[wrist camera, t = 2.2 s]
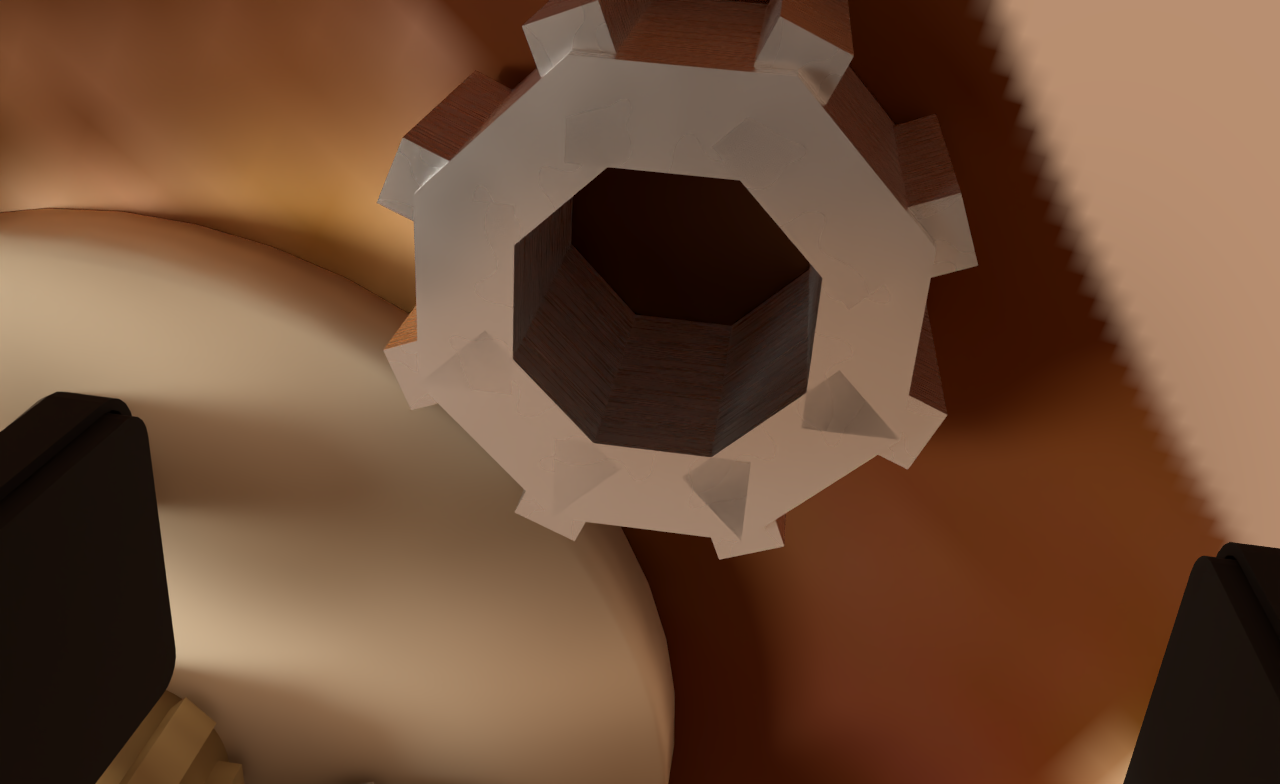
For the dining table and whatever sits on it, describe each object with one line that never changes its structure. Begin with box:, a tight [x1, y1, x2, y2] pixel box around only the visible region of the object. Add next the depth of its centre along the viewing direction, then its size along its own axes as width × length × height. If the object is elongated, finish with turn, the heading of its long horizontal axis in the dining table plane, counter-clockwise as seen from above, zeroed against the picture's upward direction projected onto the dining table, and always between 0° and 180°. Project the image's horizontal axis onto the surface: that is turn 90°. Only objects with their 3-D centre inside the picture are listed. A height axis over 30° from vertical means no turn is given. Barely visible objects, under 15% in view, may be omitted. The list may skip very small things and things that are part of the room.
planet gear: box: [377, 0, 978, 560], centre depth 16 cm, size 7×7×4 cm
